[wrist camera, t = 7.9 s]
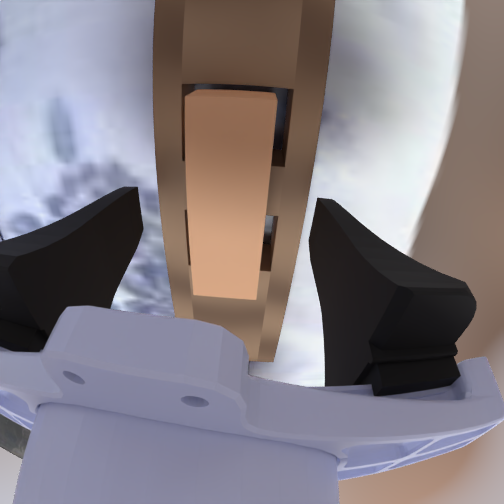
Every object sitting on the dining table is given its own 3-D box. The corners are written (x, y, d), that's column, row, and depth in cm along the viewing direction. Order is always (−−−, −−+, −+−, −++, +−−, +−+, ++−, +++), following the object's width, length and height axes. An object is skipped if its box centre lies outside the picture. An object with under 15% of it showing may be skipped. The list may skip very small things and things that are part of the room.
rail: (273, 336, 24) (273, 362, 22) (188, 329, 24) (182, 354, 22) (328, -71, 7) (339, -89, 5) (181, -76, 7) (167, -94, 5)
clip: (258, 238, 18) (256, 300, 14) (208, 235, 18) (193, 294, 14) (272, 85, 13) (277, 100, 9) (209, 82, 13) (184, 96, 9)
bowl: (54, 421, 55) (41, 469, 43) (-9, 384, 49) (-26, 429, 37) (53, 404, 44) (34, 466, 32) (-25, 356, 38) (-49, 412, 26)
